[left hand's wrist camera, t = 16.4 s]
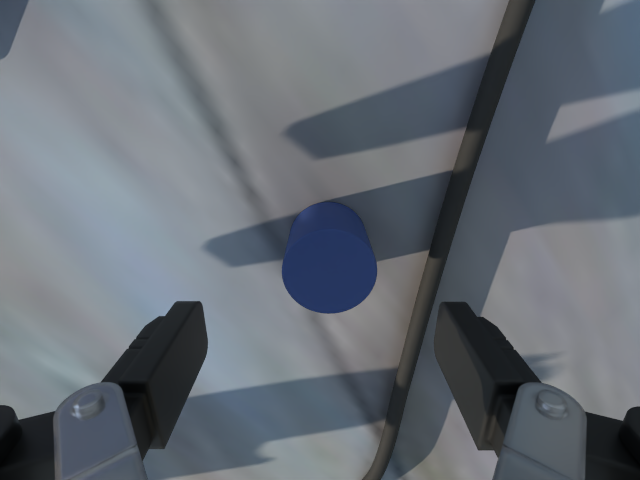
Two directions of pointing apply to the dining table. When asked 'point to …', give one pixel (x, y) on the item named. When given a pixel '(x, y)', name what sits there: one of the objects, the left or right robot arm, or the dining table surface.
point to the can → (328, 259)
